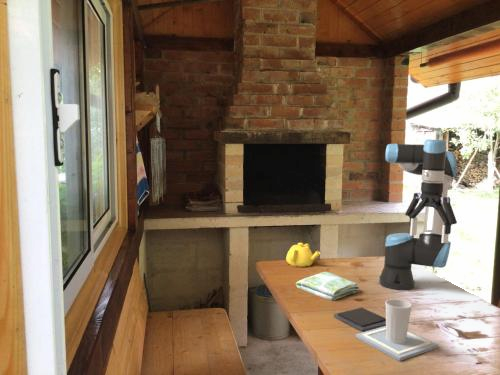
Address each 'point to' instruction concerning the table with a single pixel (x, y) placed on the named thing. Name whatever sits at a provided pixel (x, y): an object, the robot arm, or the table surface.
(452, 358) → the table surface
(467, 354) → the table surface
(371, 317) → the ink pad
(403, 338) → the cup
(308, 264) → the teapot
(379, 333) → the board
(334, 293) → the towel
